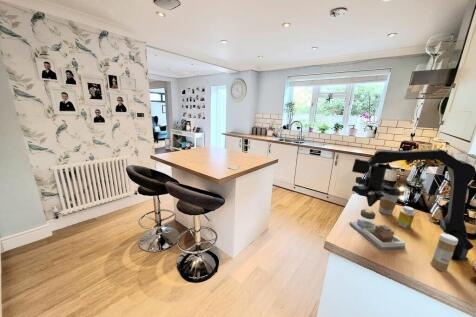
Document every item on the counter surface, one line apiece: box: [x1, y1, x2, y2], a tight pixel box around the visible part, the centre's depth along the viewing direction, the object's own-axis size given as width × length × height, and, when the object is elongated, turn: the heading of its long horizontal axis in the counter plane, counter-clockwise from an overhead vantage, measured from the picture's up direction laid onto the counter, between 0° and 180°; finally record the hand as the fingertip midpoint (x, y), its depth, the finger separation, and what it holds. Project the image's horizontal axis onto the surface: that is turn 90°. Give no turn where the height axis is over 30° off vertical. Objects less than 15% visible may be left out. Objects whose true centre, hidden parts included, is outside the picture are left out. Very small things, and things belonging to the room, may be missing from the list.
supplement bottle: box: [396, 205, 416, 229], centre depth 99 cm, size 6×6×10 cm
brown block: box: [374, 224, 395, 242], centre depth 86 cm, size 5×4×6 cm
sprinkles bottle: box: [430, 232, 458, 272], centre depth 71 cm, size 5×5×13 cm
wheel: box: [360, 208, 376, 220], centre depth 95 cm, size 6×6×2 cm
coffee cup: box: [378, 187, 400, 216], centre depth 111 cm, size 8×8×15 cm
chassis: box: [348, 217, 406, 251], centre depth 90 cm, size 19×12×4 cm, turn 8°
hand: (369, 206), depth 94 cm, fingers closed
